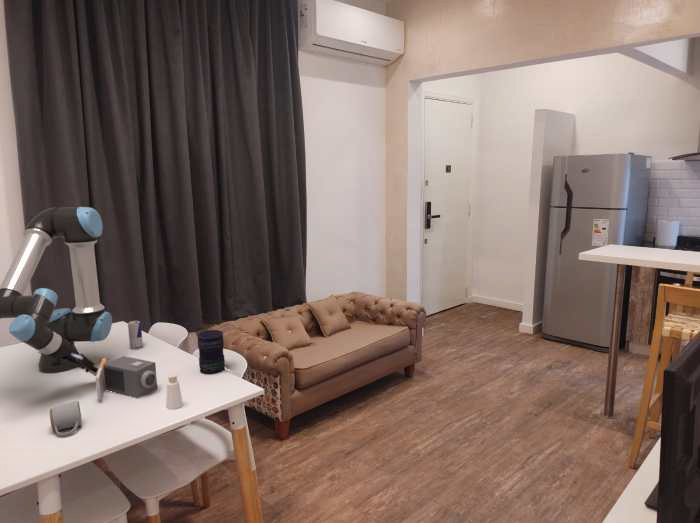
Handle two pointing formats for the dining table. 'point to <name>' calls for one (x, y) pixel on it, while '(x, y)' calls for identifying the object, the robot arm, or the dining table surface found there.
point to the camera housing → (130, 376)
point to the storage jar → (211, 352)
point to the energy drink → (135, 335)
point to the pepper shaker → (173, 393)
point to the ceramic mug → (66, 417)
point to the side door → (100, 380)
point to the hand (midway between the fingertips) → (100, 374)
